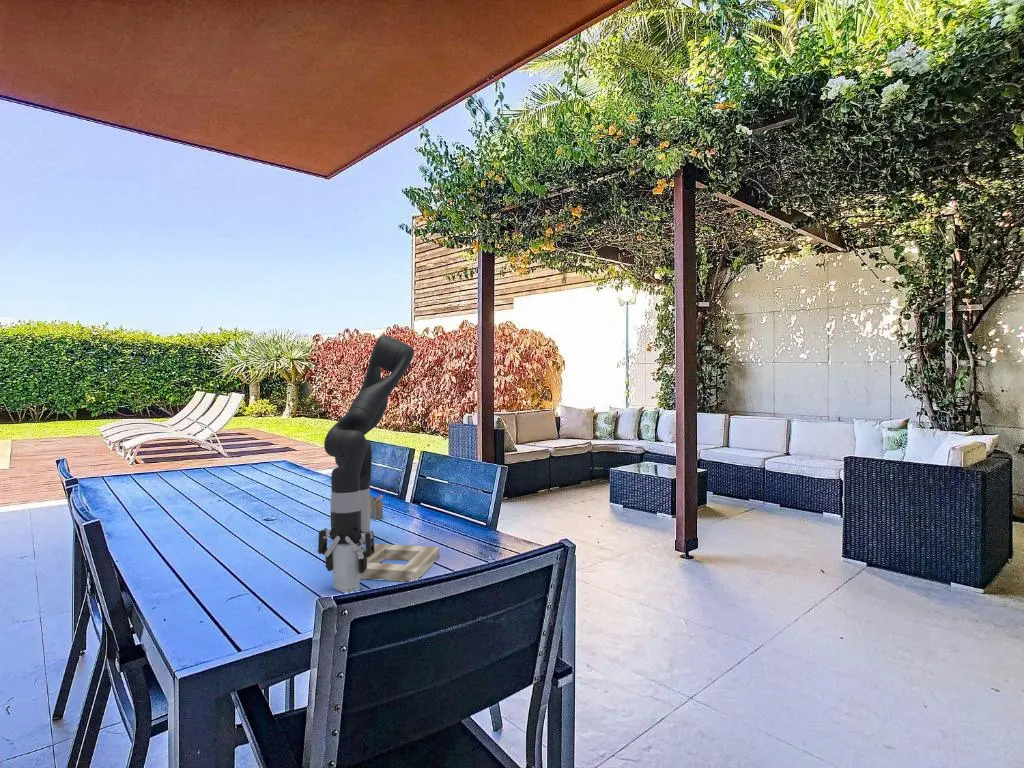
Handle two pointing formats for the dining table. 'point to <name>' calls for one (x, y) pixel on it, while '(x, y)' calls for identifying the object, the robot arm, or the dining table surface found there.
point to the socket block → (414, 569)
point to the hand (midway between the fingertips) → (346, 571)
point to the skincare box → (345, 568)
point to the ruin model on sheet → (376, 507)
